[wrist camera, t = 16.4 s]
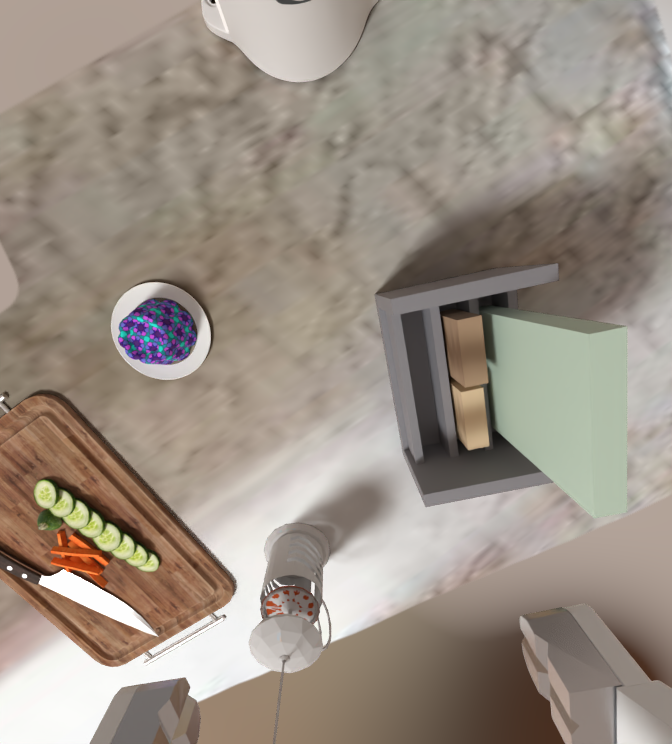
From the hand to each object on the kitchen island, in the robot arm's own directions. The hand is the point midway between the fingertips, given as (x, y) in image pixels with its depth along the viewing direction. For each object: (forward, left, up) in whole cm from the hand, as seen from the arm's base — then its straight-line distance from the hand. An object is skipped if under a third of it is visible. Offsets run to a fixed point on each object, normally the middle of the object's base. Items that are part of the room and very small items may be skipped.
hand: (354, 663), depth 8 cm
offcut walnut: (+1, +14, -36) cm, 38 cm away
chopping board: (+20, -41, -38) cm, 59 cm away
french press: (+29, -11, -37) cm, 48 cm away
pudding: (-7, -20, -38) cm, 43 cm away
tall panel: (+5, +18, -36) cm, 40 cm away
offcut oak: (+9, +14, -36) cm, 39 cm away
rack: (+5, +14, -37) cm, 40 cm away
